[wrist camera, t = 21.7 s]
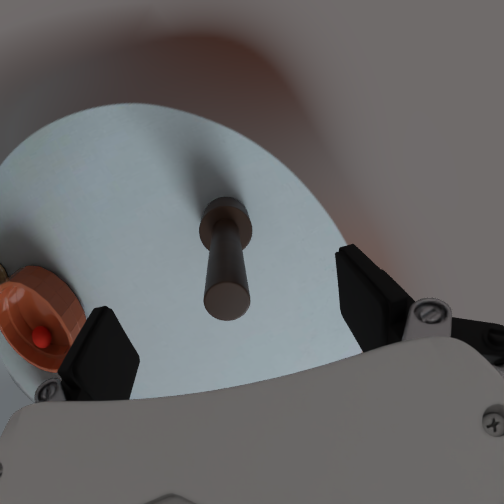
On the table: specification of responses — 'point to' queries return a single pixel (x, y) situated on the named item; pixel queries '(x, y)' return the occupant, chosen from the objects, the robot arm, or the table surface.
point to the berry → (41, 337)
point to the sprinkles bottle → (2, 275)
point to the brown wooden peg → (226, 258)
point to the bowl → (39, 315)
